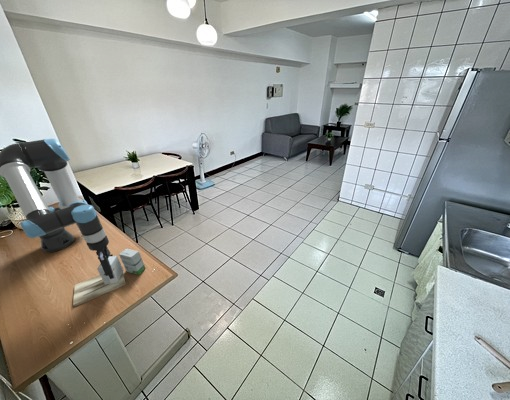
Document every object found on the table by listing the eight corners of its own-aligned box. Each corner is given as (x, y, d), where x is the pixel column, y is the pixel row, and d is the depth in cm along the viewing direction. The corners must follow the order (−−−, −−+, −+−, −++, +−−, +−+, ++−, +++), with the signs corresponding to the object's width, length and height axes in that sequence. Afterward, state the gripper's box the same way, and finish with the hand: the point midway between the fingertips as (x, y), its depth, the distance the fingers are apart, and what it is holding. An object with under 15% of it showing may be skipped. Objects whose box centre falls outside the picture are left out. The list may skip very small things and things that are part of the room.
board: (75, 286, 102) (74, 284, 101) (122, 267, 112) (122, 266, 111) (74, 306, 92) (72, 304, 92) (125, 284, 102) (124, 282, 101)
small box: (112, 272, 108) (105, 256, 103) (124, 270, 108) (117, 255, 103) (104, 285, 101) (96, 268, 96) (117, 283, 101) (109, 267, 96)
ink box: (146, 268, 111) (139, 250, 105) (138, 275, 107) (131, 257, 101) (133, 264, 114) (126, 247, 108) (125, 271, 110) (117, 254, 104)
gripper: (86, 229, 99) (103, 264, 110) (85, 256, 83) (105, 294, 94) (105, 223, 103) (120, 258, 114) (107, 249, 87) (124, 286, 97)
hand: (113, 274), depth 104 cm, fingers closed on small box, 9 cm apart
